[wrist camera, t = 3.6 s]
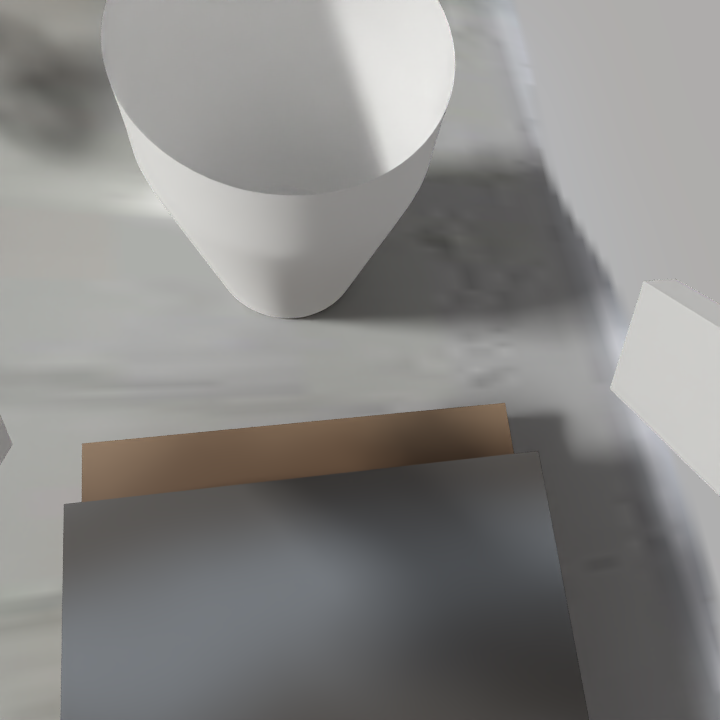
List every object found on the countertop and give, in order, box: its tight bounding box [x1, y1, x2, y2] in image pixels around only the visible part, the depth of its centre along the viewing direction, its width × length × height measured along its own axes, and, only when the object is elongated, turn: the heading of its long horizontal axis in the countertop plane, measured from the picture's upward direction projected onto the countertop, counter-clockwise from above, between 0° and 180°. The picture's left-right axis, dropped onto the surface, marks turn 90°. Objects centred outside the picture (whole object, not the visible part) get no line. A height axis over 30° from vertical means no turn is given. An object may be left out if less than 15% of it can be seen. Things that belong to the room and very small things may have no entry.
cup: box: [101, 0, 455, 318], centre depth 19 cm, size 9×9×12 cm
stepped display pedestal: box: [61, 403, 589, 720], centre depth 17 cm, size 17×15×8 cm
